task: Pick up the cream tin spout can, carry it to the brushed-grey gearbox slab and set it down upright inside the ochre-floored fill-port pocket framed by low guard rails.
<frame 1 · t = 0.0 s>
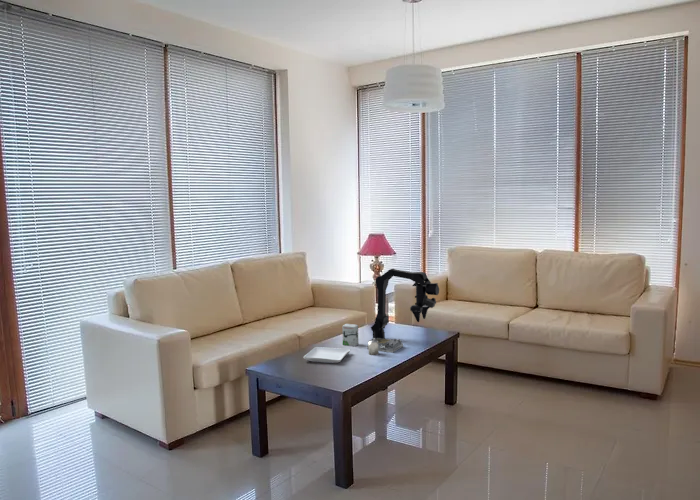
hand: (421, 320, 316), 15 cm above the table, fingers open, 9 cm apart
ink box: (350, 344, 322), on the table
salad plate: (327, 359, 296), on the table
gearbox: (385, 348, 313), on the table
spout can: (373, 353, 302), on the table
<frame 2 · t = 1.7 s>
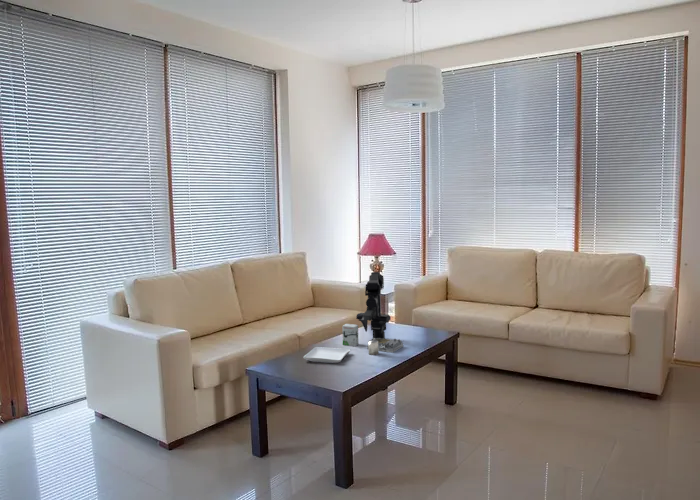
hand: (373, 332, 301), 12 cm above the table, fingers open, 9 cm apart
nothing on the table moved.
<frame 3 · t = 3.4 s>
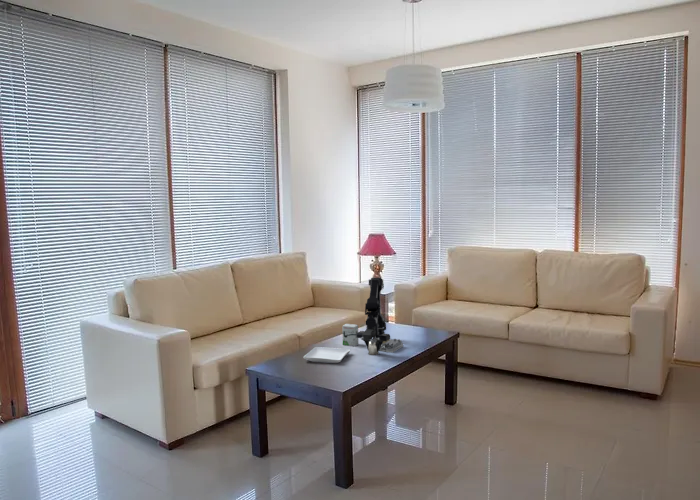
hand: (373, 351, 302), 2 cm above the table, fingers closed on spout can, 5 cm apart
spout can: (373, 353, 302), on the table, touching gripper
everything else where it was.
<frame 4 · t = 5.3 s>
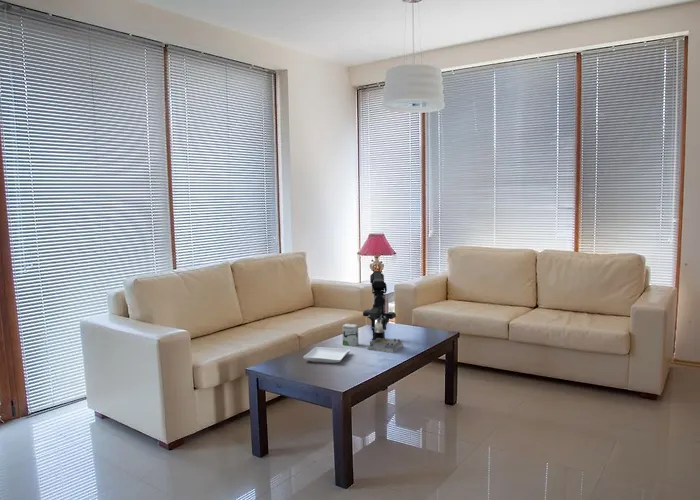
hand: (379, 328, 311), 12 cm above the table, fingers closed on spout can, 5 cm apart
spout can: (379, 331, 311), point 10 cm above the table, touching gripper
everything else where it was.
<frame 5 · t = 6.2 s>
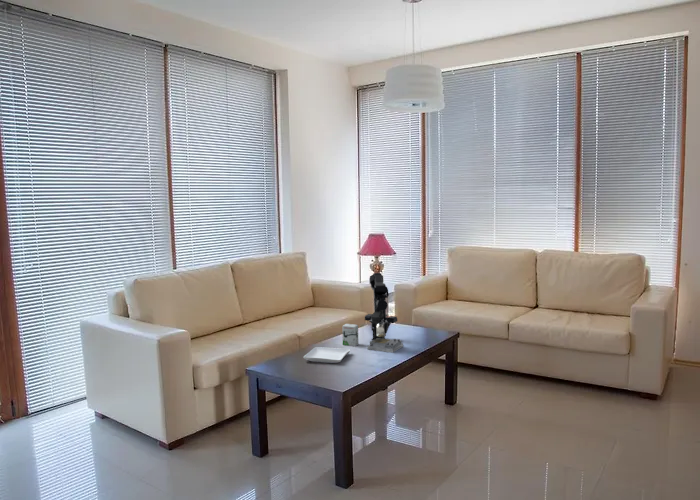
hand: (381, 333, 313), 9 cm above the table, fingers closed on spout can, 5 cm apart
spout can: (381, 335, 313), point 7 cm above the table, touching gripper
everything else where it was.
when the fingers open (5 cm above the table, at t = 7.2 s): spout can drops 1 cm, resting on gearbox.
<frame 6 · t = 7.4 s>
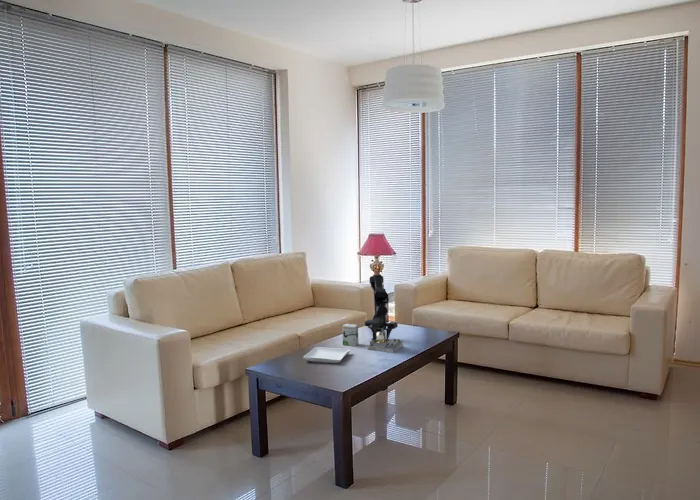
hand: (381, 338, 313), 5 cm above the table, fingers open, 7 cm apart
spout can: (381, 343, 314), point 2 cm above the table, touching gearbox
everything else where it was.
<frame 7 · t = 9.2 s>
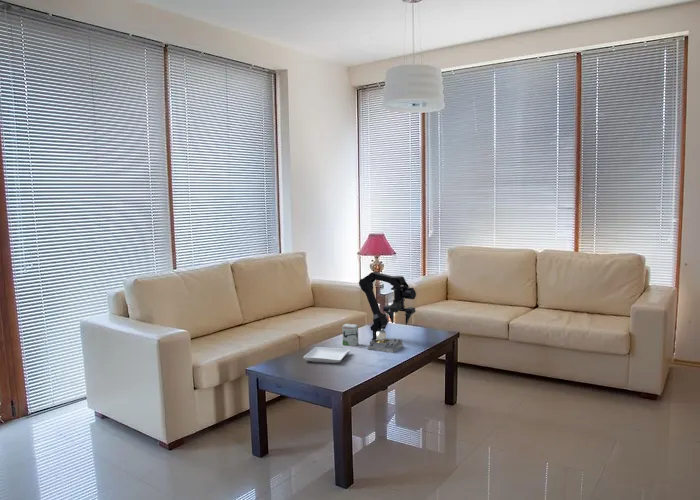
hand: (399, 323, 320), 12 cm above the table, fingers open, 9 cm apart
nothing on the table moved.
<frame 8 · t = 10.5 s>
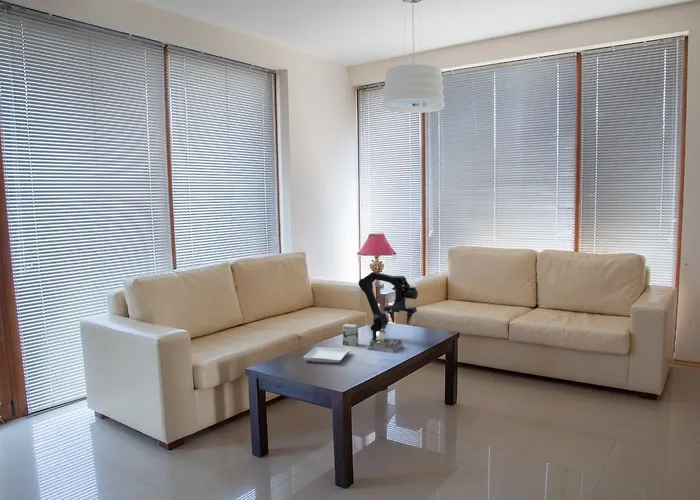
hand: (400, 323, 321), 12 cm above the table, fingers open, 9 cm apart
nothing on the table moved.
at the end: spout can 0.0 cm from the target spot on the gearbox, point 2.2 cm above the gearbox's base; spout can tilted 0°; the gripper is holding nothing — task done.
